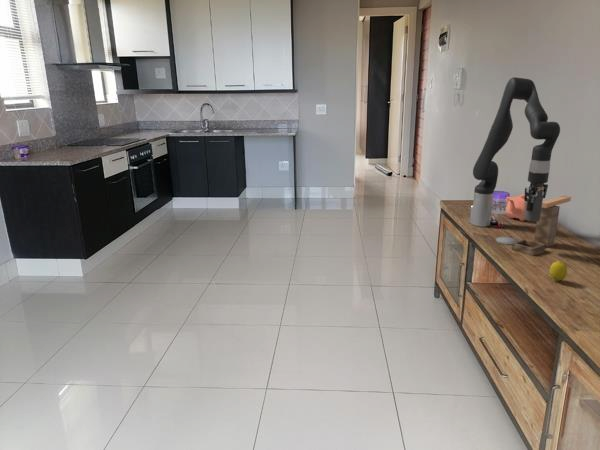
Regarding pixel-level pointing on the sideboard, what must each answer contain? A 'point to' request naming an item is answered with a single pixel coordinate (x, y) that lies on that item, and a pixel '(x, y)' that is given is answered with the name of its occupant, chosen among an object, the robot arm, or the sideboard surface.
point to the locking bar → (555, 201)
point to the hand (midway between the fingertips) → (533, 209)
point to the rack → (540, 233)
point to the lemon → (558, 270)
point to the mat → (506, 240)
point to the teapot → (516, 207)
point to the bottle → (535, 207)
